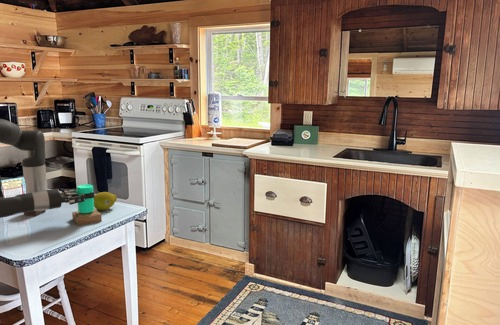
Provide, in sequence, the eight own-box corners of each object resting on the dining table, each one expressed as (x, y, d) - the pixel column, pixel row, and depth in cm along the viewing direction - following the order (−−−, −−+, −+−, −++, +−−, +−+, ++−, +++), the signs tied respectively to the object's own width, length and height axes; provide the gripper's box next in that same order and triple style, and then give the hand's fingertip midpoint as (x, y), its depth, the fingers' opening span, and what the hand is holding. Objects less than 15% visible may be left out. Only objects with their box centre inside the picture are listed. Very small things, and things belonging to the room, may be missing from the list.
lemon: (92, 213, 164) (91, 196, 163) (90, 208, 171) (89, 191, 169) (118, 210, 169) (117, 193, 167) (116, 205, 176) (115, 188, 174)
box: (35, 216, 159) (34, 200, 158) (23, 215, 160) (21, 198, 159) (46, 211, 165) (44, 195, 164) (33, 210, 166) (32, 194, 165)
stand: (72, 218, 158) (72, 211, 157) (95, 214, 163) (94, 207, 163) (78, 225, 151) (77, 218, 150) (101, 221, 156) (101, 213, 156)
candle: (82, 214, 152) (80, 185, 150) (75, 210, 156) (73, 182, 153) (96, 210, 157) (95, 182, 154) (89, 207, 160) (88, 179, 158)
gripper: (49, 195, 140) (97, 188, 150) (41, 186, 151) (86, 180, 161) (50, 214, 141) (98, 206, 152) (43, 204, 152) (87, 197, 163)
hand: (92, 193), depth 156 cm, fingers closed on candle, 4 cm apart
